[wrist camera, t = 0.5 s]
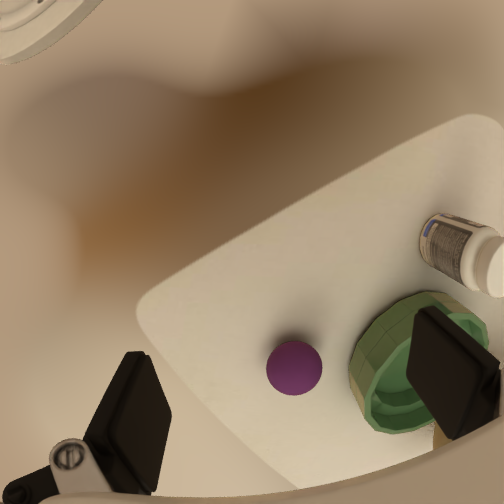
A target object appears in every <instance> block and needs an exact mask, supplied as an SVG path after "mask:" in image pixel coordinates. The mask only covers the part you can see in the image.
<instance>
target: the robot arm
mask: <svg viewBox="0 0 504 504" xmlns="http://www.w3.org/2000/svg"><path fill="white" fill-rule="evenodd" d="M55 1H56V0H0V31H9V30H13V29H16V28H18V27H20V26H22V25H24V24H26V23H27V22H29V21H30V20H32V19H34V18H35V17H36V16H38V15H39V14H40V13H42V12H43V11H44V10H46V9H47V8H48V7H49V6H50V5H52V4H53V3H54V2H55ZM499 365H500V362H499V361H498V360H497V359H496V358H495V357H494V356H493V355H492V354H491V353H489V352H488V351H487V350H486V349H485V348H484V347H483V346H482V345H481V344H479V343H478V342H477V341H476V340H475V339H474V338H473V337H471V336H470V335H469V334H468V333H467V332H466V331H464V330H463V329H462V328H461V327H460V326H459V325H457V324H456V323H455V322H454V321H453V320H451V319H450V318H449V317H448V316H447V315H445V314H444V313H443V312H442V311H441V310H439V309H438V308H437V307H436V306H434V305H431V306H427V307H424V308H420V309H419V310H418V313H416V314H415V316H414V322H413V330H412V337H411V344H410V351H409V357H408V363H407V368H406V377H407V380H408V381H409V383H410V384H411V386H412V387H413V389H414V390H415V391H416V393H417V394H418V396H419V397H420V399H421V400H422V402H423V403H424V404H425V406H426V407H427V409H428V410H429V412H430V413H431V415H432V416H433V418H434V419H435V421H436V422H437V424H438V425H439V427H440V428H441V430H442V431H443V433H444V434H445V436H446V437H447V438H448V439H452V442H450V443H448V444H446V445H444V446H442V447H439V448H437V449H435V450H432V451H430V452H428V453H425V454H423V455H420V456H418V457H415V458H413V459H410V460H408V461H405V462H402V463H399V464H396V465H394V466H391V467H388V468H385V469H382V470H378V471H375V472H372V473H369V474H365V475H362V476H358V477H354V478H351V479H347V480H343V481H339V482H334V483H330V484H325V485H321V486H316V487H310V488H305V489H299V490H293V491H287V492H279V493H271V494H262V495H252V496H237V497H209V498H198V497H197V498H195V497H162V496H151V492H155V491H156V489H157V484H158V479H159V474H160V469H161V464H162V460H163V455H164V451H165V446H166V441H167V437H168V432H169V427H170V423H171V418H172V414H171V410H170V407H169V404H168V402H167V400H166V397H165V395H164V392H163V390H162V387H161V384H160V382H159V379H158V377H157V374H156V372H155V369H154V366H153V363H152V360H151V358H150V356H149V355H145V353H144V352H143V351H134V352H127V353H126V354H125V356H124V358H123V360H122V361H121V364H120V365H119V367H118V369H117V371H116V373H115V375H114V376H113V379H112V380H111V382H110V384H109V386H108V388H107V390H106V392H105V394H104V396H103V398H102V400H101V402H100V404H99V406H98V408H97V410H96V412H95V414H94V416H93V418H92V420H91V422H90V424H89V426H88V428H87V431H86V432H85V435H84V437H83V440H80V439H75V438H72V439H66V440H63V441H61V442H59V443H58V444H56V445H55V446H54V447H53V449H52V450H51V452H50V455H49V463H50V465H48V466H46V467H44V468H42V469H39V470H37V471H35V472H33V473H30V474H28V475H26V476H23V477H21V478H19V479H16V480H14V481H12V482H10V483H9V484H8V485H7V486H6V487H5V489H4V491H3V495H2V499H3V502H2V503H1V502H0V504H504V367H503V369H502V370H500V369H499V368H498V367H499Z"/></svg>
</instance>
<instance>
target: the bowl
mask: <svg viewBox="0 0 504 504" xmlns="http://www.w3.org/2000/svg"><path fill="white" fill-rule="evenodd" d="M431 305H434V306H436V307H437V308H438V309H439V310H441V311H442V312H443V313H444V314H445V315H447V316H448V317H449V318H450V319H451V320H453V321H454V322H455V323H456V324H457V325H459V326H460V327H461V328H462V329H463V330H464V331H466V332H467V333H468V334H469V335H470V336H471V337H473V338H474V339H475V340H476V341H477V342H478V343H479V344H481V345H482V346H483V347H484V348H485V349H486V350H487V349H488V345H489V340H488V334H487V329H486V325H485V323H484V322H483V321H481V320H480V319H479V318H478V317H477V316H476V315H475V314H474V313H472V312H471V311H470V310H468V309H467V308H466V307H464V306H463V305H462V304H460V303H459V302H457V301H456V300H455V299H453V298H452V297H451V296H449V295H448V294H446V293H438V292H427V291H425V292H422V293H419V294H416V295H414V296H411V297H408V298H405V299H402V300H400V301H399V302H397V303H396V304H395V305H394V306H392V307H391V308H390V309H388V310H387V311H386V312H384V313H383V314H382V315H380V316H379V317H378V318H376V319H375V321H374V322H373V323H372V325H371V326H370V327H369V329H368V330H367V331H366V333H365V334H364V335H363V336H362V338H361V339H360V340H359V342H358V343H357V345H356V348H355V351H354V354H353V357H352V359H351V362H350V365H349V379H350V388H351V390H352V392H353V395H354V397H355V399H356V401H357V403H358V405H359V408H360V410H361V412H362V414H363V416H364V419H365V420H366V421H367V422H368V423H369V424H370V426H371V427H372V428H373V429H374V430H375V431H379V432H383V433H388V434H399V433H405V432H411V431H414V430H417V429H419V428H421V427H423V426H425V425H428V424H430V423H432V422H434V421H435V419H434V418H433V416H432V415H431V413H430V412H429V410H428V409H427V407H426V406H425V404H424V403H423V402H422V400H421V399H420V397H419V396H418V394H417V393H416V391H415V390H414V389H413V387H412V386H411V384H410V383H409V381H408V380H407V377H406V368H407V363H408V357H409V351H410V344H411V337H412V330H413V322H414V316H415V314H416V313H418V310H419V309H420V308H424V307H427V306H431Z"/></svg>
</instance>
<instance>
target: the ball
mask: <svg viewBox="0 0 504 504" xmlns="http://www.w3.org/2000/svg"><path fill="white" fill-rule="evenodd" d="M266 372H267V377H268V379H269V381H270V383H271V385H272V386H273V387H274V388H275V389H276V390H278V391H279V392H281V393H283V394H286V395H301V394H304V393H306V392H308V391H310V390H311V389H312V388H314V387H315V385H316V384H317V383H318V381H319V379H320V377H321V374H322V361H321V358H320V356H319V354H318V352H317V351H316V350H315V349H314V348H313V347H312V346H310V345H308V344H306V343H304V342H300V341H291V342H286V343H284V344H282V345H280V346H278V347H277V348H276V349H275V350H274V351H273V352H272V353H271V355H270V356H269V359H268V361H267V366H266Z"/></svg>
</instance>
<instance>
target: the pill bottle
mask: <svg viewBox="0 0 504 504" xmlns="http://www.w3.org/2000/svg"><path fill="white" fill-rule="evenodd" d="M420 251H421V254H422V256H423V259H424V260H425V261H426V262H427V263H428V264H429V265H430V266H432V267H434V268H435V269H437V270H439V271H441V272H442V273H444V274H446V275H448V276H449V277H451V278H452V279H454V280H456V281H457V282H459V283H460V284H462V285H464V286H465V287H467V288H468V289H471V290H473V291H482V292H484V293H486V294H488V295H489V296H491V297H493V298H500V297H502V296H504V237H501V236H500V234H499V233H498V232H497V231H496V230H495V229H493V228H491V227H488V226H485V225H482V224H479V223H476V222H473V221H469V220H466V219H463V218H460V217H456V216H453V215H450V214H446V213H441V214H437V215H435V216H433V217H432V218H431V219H430V220H429V221H428V222H427V223H426V224H425V226H424V228H423V230H422V233H421V237H420Z"/></svg>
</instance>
